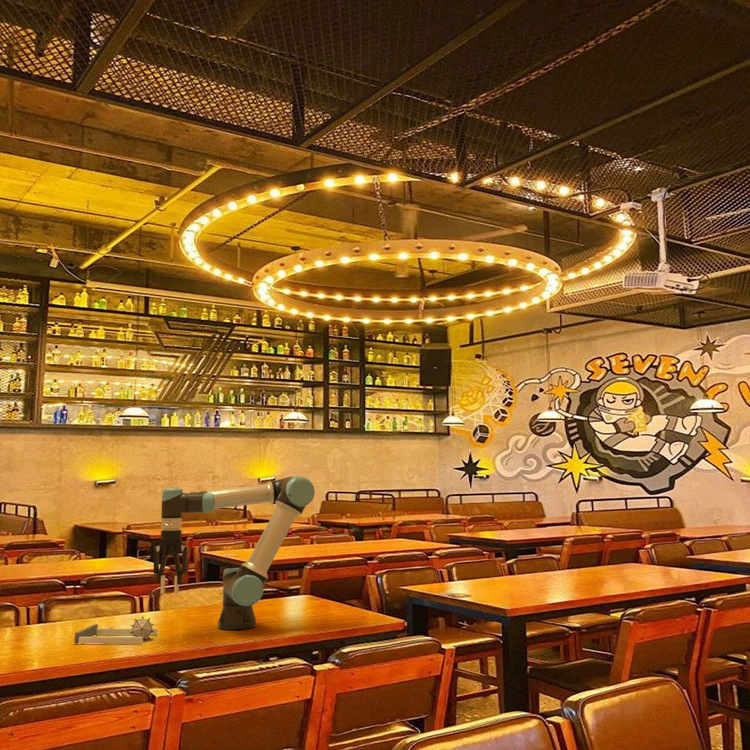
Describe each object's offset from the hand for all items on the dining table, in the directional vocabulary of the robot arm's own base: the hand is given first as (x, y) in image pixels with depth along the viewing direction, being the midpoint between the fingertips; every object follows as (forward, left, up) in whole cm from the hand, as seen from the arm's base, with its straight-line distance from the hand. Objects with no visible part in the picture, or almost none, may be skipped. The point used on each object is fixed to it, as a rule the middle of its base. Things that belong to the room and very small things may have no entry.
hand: (169, 593), depth 276 cm
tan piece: (+19, 0, -17) cm, 26 cm away
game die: (+10, 0, -17) cm, 20 cm away
